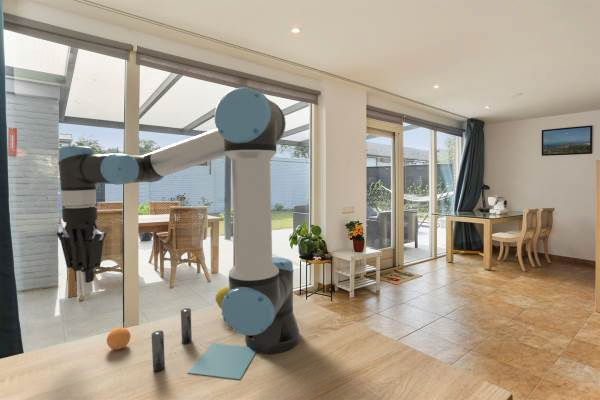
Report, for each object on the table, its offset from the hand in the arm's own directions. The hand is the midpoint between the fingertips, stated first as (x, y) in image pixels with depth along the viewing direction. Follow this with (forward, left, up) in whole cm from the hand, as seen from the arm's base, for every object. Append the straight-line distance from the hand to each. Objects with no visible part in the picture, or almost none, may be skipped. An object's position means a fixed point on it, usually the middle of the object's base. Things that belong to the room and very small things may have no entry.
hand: (85, 293), depth 86 cm
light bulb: (-31, -22, -15) cm, 40 cm away
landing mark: (-40, 0, -14) cm, 42 cm away
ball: (-10, 0, -12) cm, 15 cm away
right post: (-26, -6, -14) cm, 30 cm away
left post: (-26, +6, -14) cm, 30 cm away
